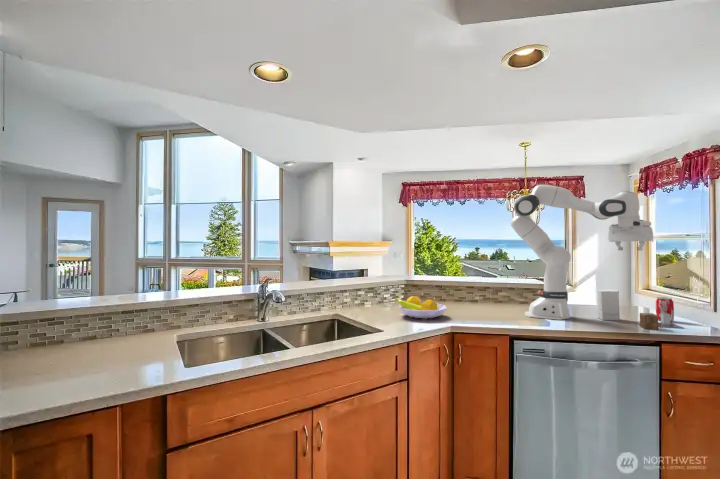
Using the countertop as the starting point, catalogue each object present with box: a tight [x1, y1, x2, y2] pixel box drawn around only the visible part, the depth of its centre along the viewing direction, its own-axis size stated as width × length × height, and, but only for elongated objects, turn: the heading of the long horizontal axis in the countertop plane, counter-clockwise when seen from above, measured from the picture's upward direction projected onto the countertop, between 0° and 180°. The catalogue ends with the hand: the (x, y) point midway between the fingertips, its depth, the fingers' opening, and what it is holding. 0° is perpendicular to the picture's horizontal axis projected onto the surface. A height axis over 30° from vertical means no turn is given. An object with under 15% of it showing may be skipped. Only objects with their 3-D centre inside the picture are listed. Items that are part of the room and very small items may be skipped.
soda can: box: [655, 296, 675, 323], centre depth 182 cm, size 7×7×12 cm
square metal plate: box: [658, 313, 685, 330], centre depth 172 cm, size 10×10×6 cm
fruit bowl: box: [395, 295, 448, 319], centre depth 199 cm, size 28×27×11 cm
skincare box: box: [596, 289, 621, 322], centre depth 187 cm, size 8×7×16 cm
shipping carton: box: [639, 312, 659, 331], centre depth 167 cm, size 5×5×7 cm
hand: (629, 250), depth 179 cm, fingers open, 8 cm apart
